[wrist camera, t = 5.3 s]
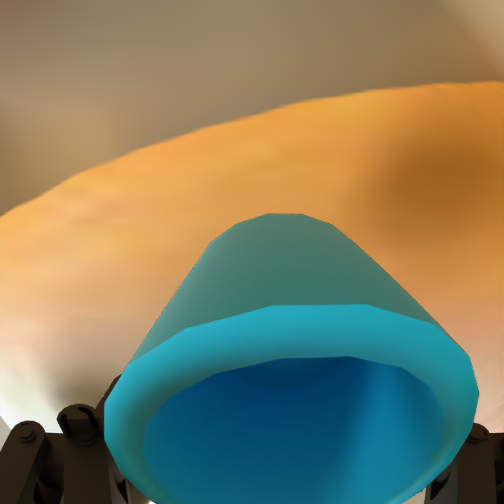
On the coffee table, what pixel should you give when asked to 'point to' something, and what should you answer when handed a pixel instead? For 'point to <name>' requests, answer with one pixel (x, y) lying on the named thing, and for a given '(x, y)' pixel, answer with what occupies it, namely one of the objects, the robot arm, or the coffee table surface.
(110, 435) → the mug
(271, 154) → the coffee table surface
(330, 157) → the coffee table surface
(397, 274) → the coffee table surface
